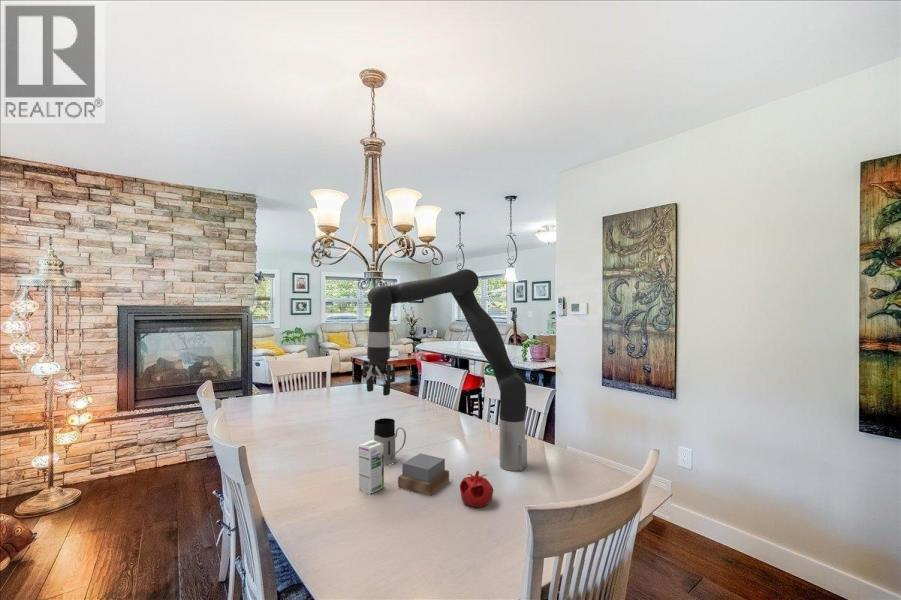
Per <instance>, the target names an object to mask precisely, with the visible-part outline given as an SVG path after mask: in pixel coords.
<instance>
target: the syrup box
mask: <svg viewBox="0 0 901 600" xmlns="http://www.w3.org/2000/svg"><path fill="white" fill-rule="evenodd" d="M357 449H358V489H359V490H360V489H361V490H363V491H362V492H364V491H365V492H364V493H366V492H367V493H366V494H368V493H370V494H369V495H372V494H374V493H376V492H377V491H380V490H383V489H384V487H385V473H384V472H385V470H384V457H383V443H381V442H378V441H374V439H372V440H371V439H370V441H366V442H364V443H361V444H358V448H357ZM361 490H360V491H361ZM371 493H372V494H371Z"/></svg>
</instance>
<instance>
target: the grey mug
mask: <svg viewBox="0 0 901 600" xmlns="http://www.w3.org/2000/svg"><path fill="white" fill-rule="evenodd" d="M395 422H396V420H395V419H394V418H386V417H385V418H378V419H376V420H374V429H373V440H374V441H378V442H381V443H383V457H384V465H386V466H390V465H389V464H391V465H393V464H395V463H396V462H397V458H396V455H397V454H398V453H399V452H400V451H401V450H403V448H404V446H405V443H406V439H407V433H406V429H405V428H403V427H402V426H400V427H397V429H396V427H395V426H396V425H395V424H396V423H395ZM395 429H396V430H395ZM399 429H400V430H402V431H403V437H404V438H403V443H402V445H401V447H400V448H399V449H398V450H397V451H396V438H397V436H398V431H399ZM392 463H393V464H392Z"/></svg>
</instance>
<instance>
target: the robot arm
mask: <svg viewBox="0 0 901 600" xmlns="http://www.w3.org/2000/svg"><path fill="white" fill-rule="evenodd" d="M479 282H480V279H479V277H478V274H477V273H476V272H475V271H474V270H471V269H468V268H463V269H460V270H458V271H456V272H455V271H454V272H452V273H450V274H445V275H441V276H437V277H432V278H425V279H418V280H411V281H405V282H400V283H396V284H390V285H389V284H387V285H378V286H374V287H372V288H370V290H369V291H368V293H367V301H368V302H369V304H370V316H369V318H368V333H367V353H366V354H367V359H366V360H363V361H362V378H363V379H365V381H366V391H367V392H370V393H371V392H373V391H374V379H375V377H376V376H377V377H379V378H380V379H381V381H382V384H383V386H382V387H383V388H382V394H383V396H389V395H390V393H391V384H392V383H395V382H396V365H395V364H394V363H390V364H389V363H388V361H389V359H390V358H391V334H390V331H391V330H390V323H391V322H390V317H391V311H392V305H393V304H399V303H400V304H402V303H403V304H406V303H412V302H417V301H421V300H422V301H423V300H424V299H425V300H426V299H429V298H432V297H435V296H439V295H445V294H451V295H452V297H453V298H454V300H455V301H456V303H457V305H458V306H459V308H460V310H461V311H462V314H463V315H464V317H465V320H466V323H467V325H468V327H469V329H470V331H471V333H472V335H473V337H474V340H475V342H476V344H477V346H478V347H479V349H480V351H481V353H482V355H483V356H484V358H485V359H486V360H487V362H488V364H489V365H490V367H491V369H492V371H493V374H494V378H495V379H496V382H497V385H498V389H499V397H500V398H499V467H500V468H502V469H503V470H506V471H509V472H510V471H512V472H518V471H519V472H522V471H523V470H524V469H525V468H526V467H527V466H528V439H527V438H526V412H527V387H526V384H525V381H524V380H523V379H522V377H521V376H520V375H519V373H518V372H517V371H516V369H515V367H514V366H513V363H512V362H511V360H510V357H509V355H508V352H507V349H506V345H505V342H504V339H503V337H502V334H501V333H500V331H499V328H498V326H497V323H495V320H493V318H492V317H491V315H490V314H488V313H487V311H485V310H484V308H483V307H482V306H481V305H480V303H479V301H478V300H477V297H476V294H475V293H474V292H475V291H476V290H477V288H478V286H479Z"/></svg>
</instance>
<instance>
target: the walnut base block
mask: <svg viewBox="0 0 901 600" xmlns="http://www.w3.org/2000/svg"><path fill="white" fill-rule="evenodd" d="M449 482H450V470H447V469H445V471H444V472H443V473H441V474H440V475H438V476H437V477H435V478H434V479H432V480H431V481H430V482H424V481H421V480H417V479H413V478H410V477H406V476H402V474H400V475H399V476H398V478H397V483H398V484H397V487H399V488H398V489H401V488H403V489H402V490H405V489H406V490H405V491H408V490H409V491H408V492H412V491H413V493H415V492H416V494H419V493H420V494H419V495H422V494H423V495H422V496H427V497H431V496H432V495H434V494H435V493H436V492H437V491H439V490H440V489H441V488H442V487H444V486H445V485H446V484H448V483H449Z"/></svg>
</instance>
